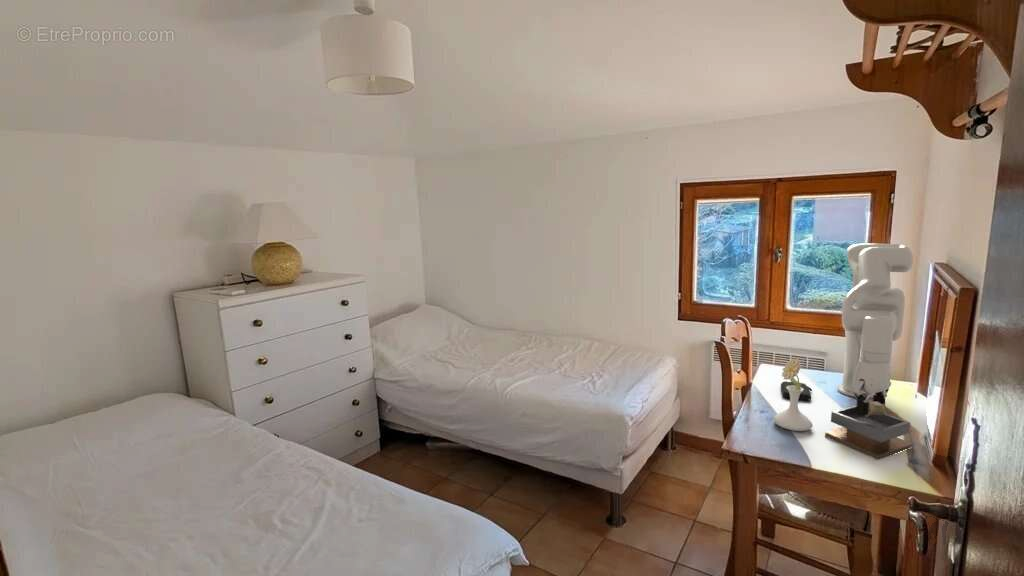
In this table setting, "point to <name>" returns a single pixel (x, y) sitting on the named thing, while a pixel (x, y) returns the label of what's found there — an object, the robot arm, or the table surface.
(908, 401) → the table surface
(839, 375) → the table surface
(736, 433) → the table surface
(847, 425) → the tray stand
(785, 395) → the carrying case or bag
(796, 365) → the flower in vase
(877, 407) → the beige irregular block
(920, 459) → the table surface
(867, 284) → the robot arm
